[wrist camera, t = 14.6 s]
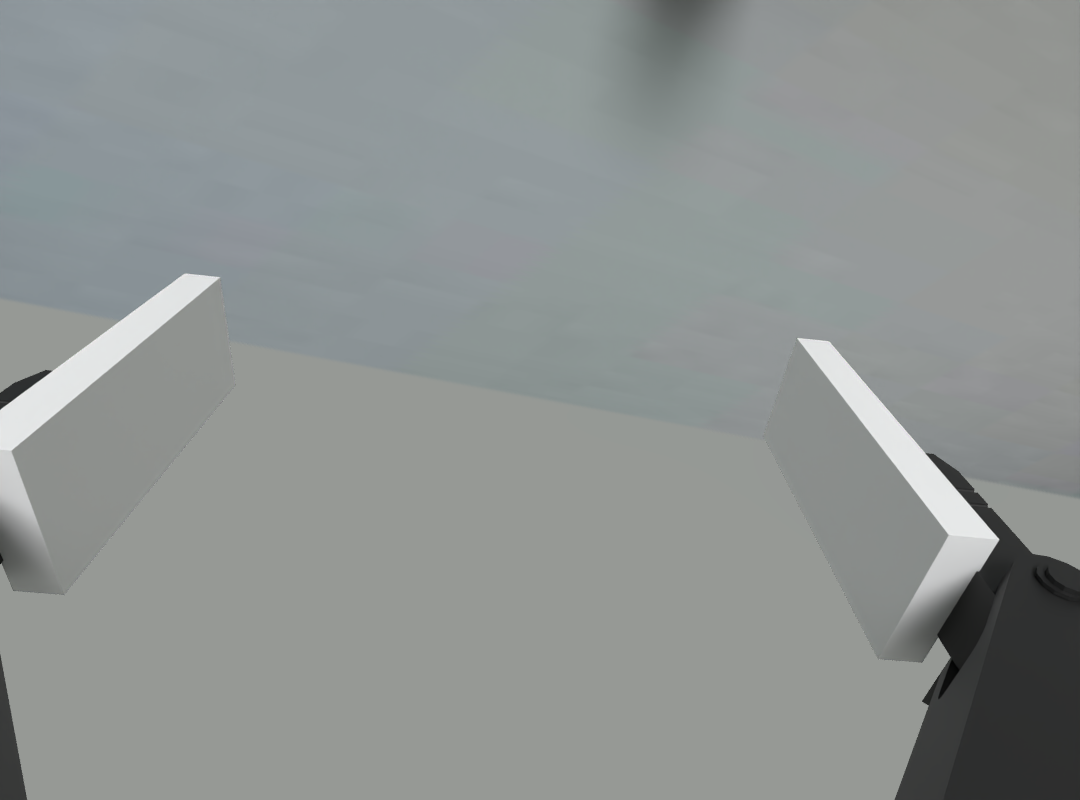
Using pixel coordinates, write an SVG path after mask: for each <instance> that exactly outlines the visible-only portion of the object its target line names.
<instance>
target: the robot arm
mask: <svg viewBox="0 0 1080 800" xmlns="http://www.w3.org/2000/svg"><path fill="white" fill-rule="evenodd" d="M235 385H236V384H235V377H234V370H233V363H232V356H231V349H230V342H229V335H228V328H227V321H226V315H225V308H224V301H223V294H222V287H221V280H220V277H212V276H202V275H193V274H184V275H182V276H181V277H179V278H178V279H177V280H175V281H174V282H173V283H171V284H170V285H169V286H167V287H166V288H165V289H163V290H162V291H161V292H159V293H158V294H156V295H155V296H154V297H152V298H151V299H150V300H148V301H147V302H146V303H144V304H143V305H142V306H140V307H139V308H137V309H136V310H135V311H133V312H132V313H131V314H129V315H128V316H127V317H125V318H124V319H123V320H121V321H120V322H119V323H117V324H116V325H114V326H113V327H112V328H110V329H109V330H108V331H106V332H105V333H104V334H102V335H101V336H100V337H98V338H97V339H95V340H94V341H93V342H91V343H90V344H89V345H88V346H86V347H85V348H83V349H82V350H81V351H79V352H78V353H76V354H75V355H74V356H72V357H71V358H70V359H68V360H67V361H66V362H64V363H63V364H62V365H60V366H59V367H58V368H56V369H55V370H54V371H49V370H45V371H43V372H40V373H38V374H35V375H33V376H30V377H28V378H25V379H23V380H20V381H18V382H15V383H14V384H12V385H11V386H9V387H8V388H6V389H5V390H4V391H3V392H1V393H0V564H1V563H2V565H3V567H4V570H5V572H6V575H7V577H8V579H9V582H10V584H11V587H12V589H13V591H23V592H36V593H48V594H61V595H64V594H65V593H66V592H67V590H68V589H69V588H70V587H71V586H72V585H73V583H74V582H75V581H76V580H77V579H78V577H79V576H80V575H81V573H82V572H83V571H84V570H85V569H86V567H87V566H88V565H89V564H90V563H91V561H92V560H93V559H94V558H95V557H96V555H97V554H98V553H99V552H100V550H101V549H102V548H103V547H104V545H105V544H106V543H107V542H108V541H109V539H110V538H111V537H112V536H113V534H114V533H115V532H116V531H117V530H118V528H119V527H120V526H121V525H122V523H123V522H124V521H125V520H126V519H127V517H128V516H129V515H130V514H131V512H132V511H133V510H134V509H135V507H136V506H137V505H138V504H139V503H140V501H141V500H142V499H143V498H144V496H145V495H146V494H147V493H148V492H149V490H150V489H151V488H152V487H153V486H154V484H155V483H156V482H157V481H158V479H159V478H160V477H161V476H162V474H163V473H164V472H165V471H166V470H167V468H168V467H169V466H170V465H171V463H172V462H173V461H174V460H175V459H176V457H177V456H178V455H179V454H180V452H181V451H182V450H183V449H184V448H185V446H186V445H187V444H188V443H189V442H190V440H191V439H192V438H193V437H194V435H195V434H196V433H197V432H198V431H199V429H200V428H201V427H202V426H203V424H204V423H205V422H206V421H207V420H208V418H209V417H210V416H211V415H212V413H213V412H214V411H215V410H216V409H217V407H218V406H219V405H220V404H221V402H222V401H223V400H224V399H225V398H226V396H227V395H228V394H229V393H230V391H231V390H232V389H233V388H234V387H235ZM763 437H764V439H765V441H766V443H767V445H768V447H769V448H770V450H771V452H772V454H773V456H774V458H775V460H776V462H777V464H778V466H779V468H780V470H781V472H782V474H783V476H784V478H785V480H786V481H787V483H788V485H789V487H790V489H791V491H792V493H793V495H794V497H795V499H796V501H797V503H798V505H799V507H800V509H801V511H802V513H803V514H804V516H805V518H806V520H807V522H808V524H809V526H810V528H811V530H812V532H813V534H814V536H815V538H816V540H817V542H818V544H819V545H820V547H821V549H822V551H823V553H824V555H825V557H826V559H827V561H828V563H829V565H830V567H831V569H832V571H833V573H834V575H835V577H836V579H837V580H838V582H839V584H840V586H841V588H842V590H843V592H844V594H845V596H846V598H847V600H848V602H849V604H850V606H851V608H852V610H853V612H854V613H855V615H856V617H857V619H858V621H859V623H860V625H861V627H862V629H863V631H864V633H865V635H866V637H867V639H868V641H869V642H870V645H871V647H872V648H873V650H874V652H875V654H876V656H877V658H878V659H884V660H896V661H909V662H923V661H924V659H925V657H926V655H927V654H928V652H929V651H930V649H931V648H932V646H933V645H934V643H935V641H936V640H937V638H938V637H939V639H940V641H941V642H942V644H943V645H944V647H945V649H946V650H947V652H948V653H949V655H950V657H951V658H950V660H949V661H948V663H947V664H946V666H945V667H944V669H943V670H942V672H941V673H940V675H939V676H938V678H937V679H936V681H935V682H934V684H933V685H932V687H931V689H930V690H929V691H928V693H927V695H926V696H925V698H924V699H923V701H922V702H924V703H926V704H927V705H929V707H928V710H927V712H926V715H925V718H924V721H923V723H922V726H921V729H920V732H919V734H918V737H917V740H916V743H915V746H914V748H913V751H912V754H911V756H910V759H909V762H908V765H907V767H906V770H905V773H904V776H903V778H902V781H901V784H900V787H899V790H898V792H897V795H896V798H895V800H1080V570H1078V569H1076V568H1075V567H1073V566H1071V565H1069V564H1067V563H1064V562H1061V561H1059V560H1056V559H1053V558H1051V557H1047V556H1041V555H1035V554H1032V553H1031V552H1030V551H1029V550H1028V548H1027V547H1026V546H1025V545H1024V544H1023V543H1022V542H1021V541H1020V539H1019V538H1018V537H1017V536H1016V535H1015V534H1014V533H1013V532H1012V531H1011V530H1010V528H1009V527H1008V526H1007V525H1006V524H1005V523H1004V522H1003V521H1002V519H1001V518H1000V517H999V516H998V515H997V514H996V513H995V512H994V511H993V509H992V508H988V506H987V505H988V504H987V503H986V502H985V501H984V499H983V498H982V497H981V496H980V495H979V494H978V493H974V488H973V487H972V486H971V485H970V484H969V483H968V482H967V480H966V479H965V478H964V477H963V476H962V475H961V474H960V473H959V472H958V471H957V470H956V469H954V468H953V467H951V466H950V465H949V464H947V463H946V462H944V461H943V460H941V459H940V458H938V457H937V456H936V455H934V454H928V453H924V451H923V450H922V449H921V448H920V447H919V446H918V444H917V443H916V442H915V441H914V440H913V439H912V437H911V436H910V435H909V434H908V433H907V432H906V430H905V429H904V428H903V427H902V426H901V425H900V424H899V422H898V421H897V420H896V419H895V418H894V417H893V415H892V414H891V413H890V412H889V411H888V410H887V408H886V407H885V406H884V405H883V404H882V403H881V401H880V400H879V399H878V398H877V397H876V396H875V394H874V393H873V392H872V391H871V390H870V389H869V387H868V386H867V385H866V384H865V383H864V382H863V380H862V379H861V378H860V377H859V376H858V375H857V374H856V372H855V371H854V370H853V369H852V368H851V367H850V365H849V364H848V363H847V362H846V361H845V360H844V358H843V357H842V356H841V355H840V354H839V353H838V351H837V350H836V349H835V348H834V347H833V346H832V344H831V343H830V342H829V341H820V340H811V339H801V338H797V339H796V342H795V345H794V348H793V351H792V354H791V357H790V360H789V362H788V365H787V368H786V371H785V374H784V377H783V380H782V383H781V386H780V389H779V391H778V394H777V397H776V400H775V403H774V406H773V409H772V412H771V415H770V418H769V421H768V423H767V426H766V429H765V432H764V435H763ZM0 800H27V797H26V792H25V786H24V781H23V775H22V770H21V764H20V759H19V754H18V749H17V743H16V737H15V733H14V727H13V722H12V716H11V710H10V705H9V699H8V694H7V689H6V683H5V678H4V672H3V667H2V661H1V656H0Z"/></svg>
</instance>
